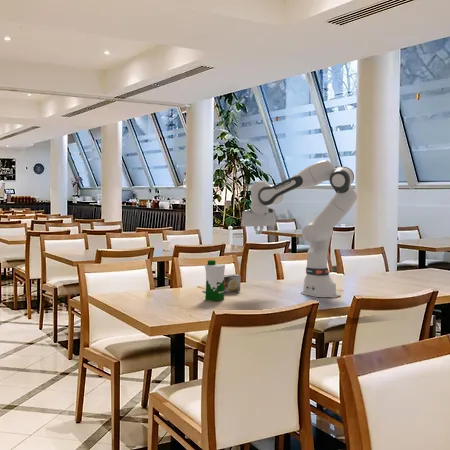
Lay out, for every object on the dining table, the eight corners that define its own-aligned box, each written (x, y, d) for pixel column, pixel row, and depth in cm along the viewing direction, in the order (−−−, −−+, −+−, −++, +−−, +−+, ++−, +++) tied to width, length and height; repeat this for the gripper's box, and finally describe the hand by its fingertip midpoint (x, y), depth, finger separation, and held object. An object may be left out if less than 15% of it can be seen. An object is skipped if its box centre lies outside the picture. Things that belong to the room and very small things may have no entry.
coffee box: (235, 273, 326) (209, 275, 319) (241, 275, 321) (215, 277, 313) (234, 289, 327) (209, 291, 319) (240, 291, 321) (215, 293, 314)
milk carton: (212, 297, 305) (212, 259, 304) (226, 299, 300) (227, 260, 299) (202, 300, 298) (203, 261, 296) (217, 302, 293) (217, 262, 292)
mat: (239, 292, 320) (239, 292, 320) (208, 294, 313) (208, 294, 313) (231, 289, 329) (231, 289, 329) (202, 291, 322) (202, 291, 322)
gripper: (244, 210, 322) (244, 235, 323) (277, 209, 330) (276, 234, 331) (239, 209, 327) (239, 234, 328) (271, 209, 336) (271, 233, 336)
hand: (258, 234), depth 330 cm, fingers closed
